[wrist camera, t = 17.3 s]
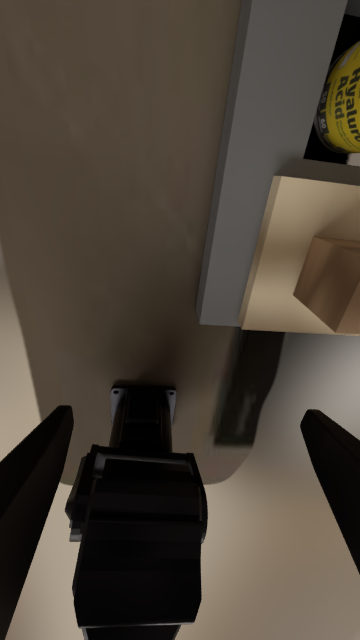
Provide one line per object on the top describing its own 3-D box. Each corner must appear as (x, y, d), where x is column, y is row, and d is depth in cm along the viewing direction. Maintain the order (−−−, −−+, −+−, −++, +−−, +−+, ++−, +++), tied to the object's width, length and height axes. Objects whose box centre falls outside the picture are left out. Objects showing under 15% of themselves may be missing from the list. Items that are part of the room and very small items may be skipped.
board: (364, 320, 24) (384, 334, 22) (195, 309, 22) (199, 324, 20) (523, 10, 15) (586, -19, 12) (249, -53, 13) (268, -100, 11)
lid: (354, 328, 21) (420, 379, 16) (237, 321, 20) (266, 374, 15) (421, 194, 17) (547, 204, 11) (273, 175, 15) (335, 176, 10)
